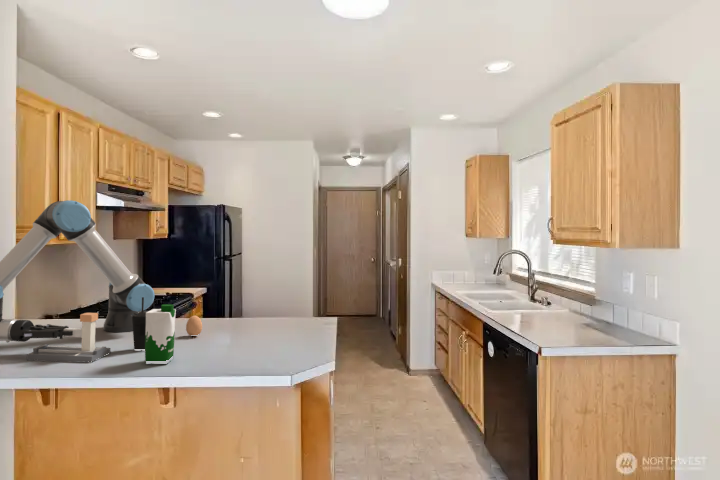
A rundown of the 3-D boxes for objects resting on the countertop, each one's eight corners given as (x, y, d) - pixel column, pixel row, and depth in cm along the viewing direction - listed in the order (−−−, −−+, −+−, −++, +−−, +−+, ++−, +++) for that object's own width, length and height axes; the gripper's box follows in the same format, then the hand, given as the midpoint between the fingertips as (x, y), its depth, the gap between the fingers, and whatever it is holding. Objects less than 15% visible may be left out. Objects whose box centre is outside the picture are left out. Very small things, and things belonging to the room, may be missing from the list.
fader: (79, 352, 164) (80, 314, 163) (85, 349, 168) (86, 312, 167) (90, 352, 164) (91, 315, 163) (96, 349, 168) (98, 313, 167)
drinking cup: (156, 348, 180) (158, 297, 180) (141, 353, 173) (143, 299, 173) (141, 346, 183) (142, 295, 183) (125, 350, 176) (127, 297, 175)
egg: (204, 335, 205) (205, 314, 205) (197, 338, 198) (198, 317, 198) (190, 334, 206) (190, 313, 206) (182, 337, 199) (183, 316, 199)
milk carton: (168, 365, 160) (170, 307, 159) (141, 365, 159) (142, 306, 159) (176, 358, 168) (178, 303, 168) (150, 358, 168) (152, 302, 167)
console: (26, 360, 160) (27, 350, 160) (50, 350, 172) (50, 342, 172) (91, 362, 160) (91, 353, 160) (110, 353, 172) (110, 344, 172)
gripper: (29, 336, 172) (93, 339, 172) (2, 345, 159) (71, 348, 159) (29, 316, 172) (94, 319, 172) (2, 323, 159) (72, 326, 159)
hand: (83, 333), depth 165 cm, fingers closed
